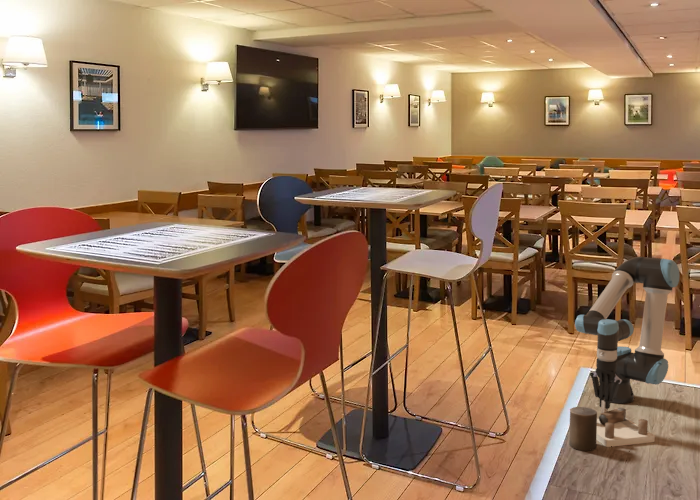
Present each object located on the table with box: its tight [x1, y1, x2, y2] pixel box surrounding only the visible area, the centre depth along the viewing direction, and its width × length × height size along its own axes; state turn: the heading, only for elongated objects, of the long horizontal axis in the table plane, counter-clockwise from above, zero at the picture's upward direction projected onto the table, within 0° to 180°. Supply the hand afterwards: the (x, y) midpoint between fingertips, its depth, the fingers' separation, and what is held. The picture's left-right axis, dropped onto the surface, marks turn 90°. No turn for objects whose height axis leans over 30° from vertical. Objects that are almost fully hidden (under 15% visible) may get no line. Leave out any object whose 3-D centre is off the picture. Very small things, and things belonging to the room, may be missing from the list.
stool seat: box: [596, 417, 656, 448], centre depth 257 cm, size 20×20×8 cm
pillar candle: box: [568, 406, 598, 452], centre depth 247 cm, size 10×10×15 cm
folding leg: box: [598, 407, 627, 425], centre depth 262 cm, size 13×4×4 cm, turn 119°
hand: (604, 415), depth 263 cm, fingers closed
